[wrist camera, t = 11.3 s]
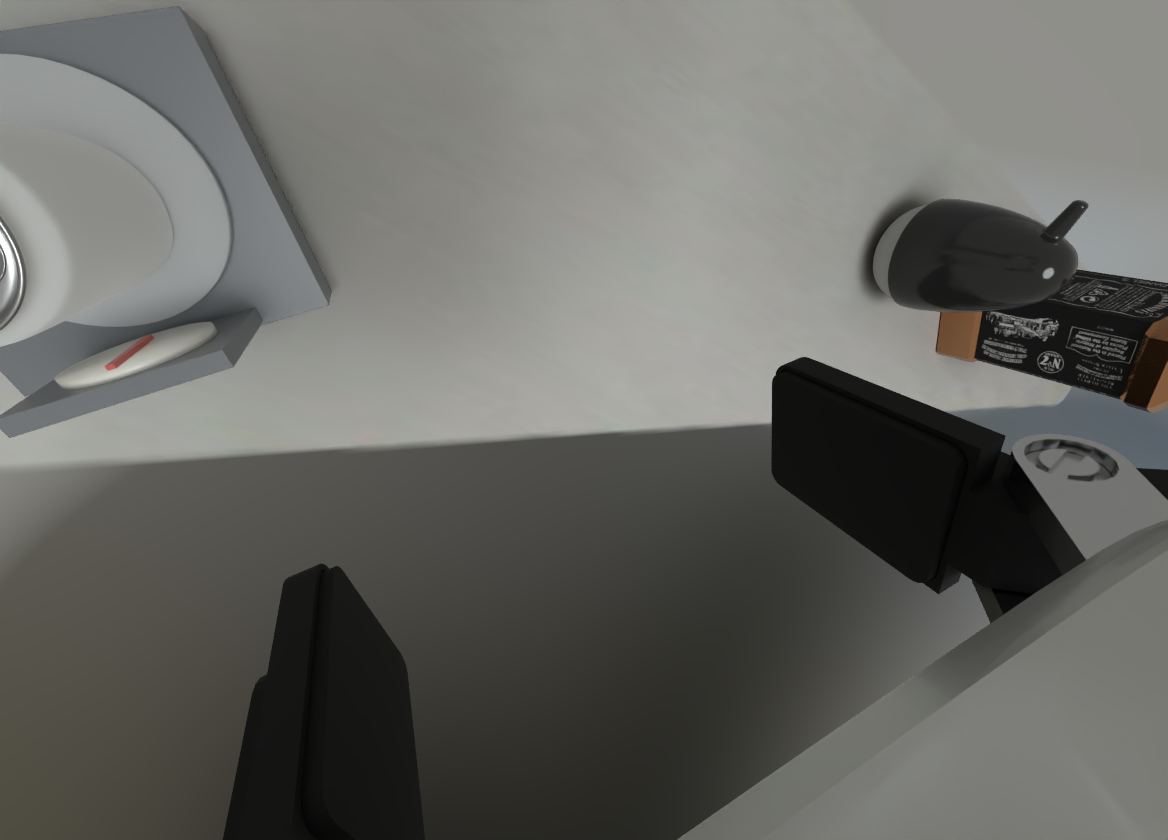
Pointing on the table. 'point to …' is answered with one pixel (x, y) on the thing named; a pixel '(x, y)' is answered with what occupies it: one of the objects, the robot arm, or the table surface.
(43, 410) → the scale
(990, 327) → the whiskey bottle
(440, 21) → the table surface
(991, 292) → the pump dispenser
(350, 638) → the robot arm
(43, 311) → the can
